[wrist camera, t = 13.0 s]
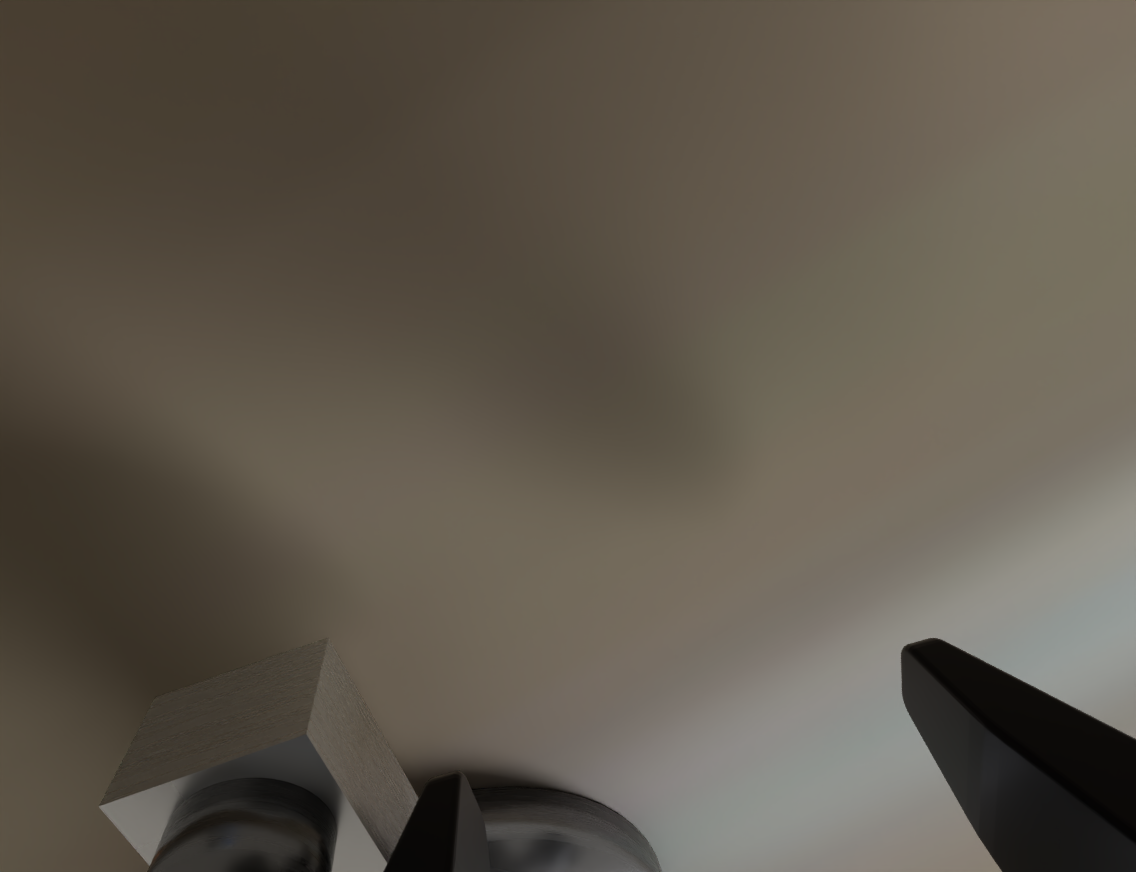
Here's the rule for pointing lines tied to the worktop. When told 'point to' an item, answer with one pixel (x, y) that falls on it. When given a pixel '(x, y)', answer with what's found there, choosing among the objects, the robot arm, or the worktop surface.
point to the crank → (263, 774)
